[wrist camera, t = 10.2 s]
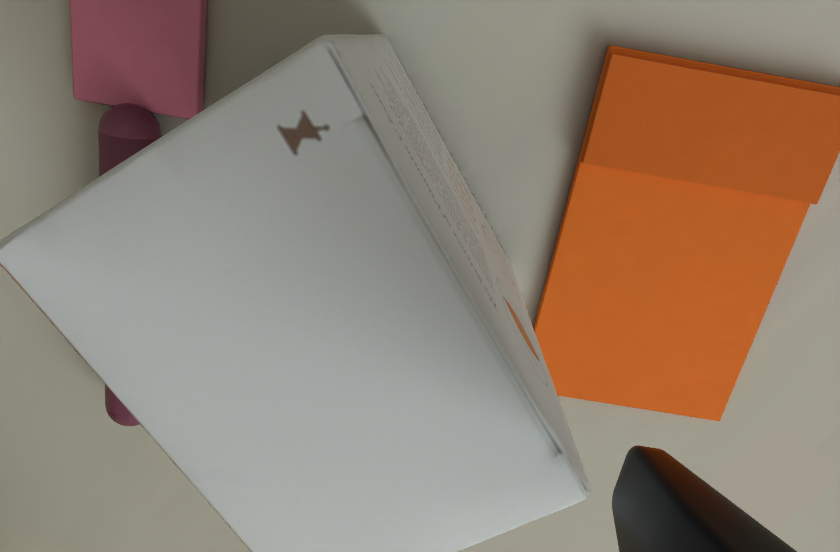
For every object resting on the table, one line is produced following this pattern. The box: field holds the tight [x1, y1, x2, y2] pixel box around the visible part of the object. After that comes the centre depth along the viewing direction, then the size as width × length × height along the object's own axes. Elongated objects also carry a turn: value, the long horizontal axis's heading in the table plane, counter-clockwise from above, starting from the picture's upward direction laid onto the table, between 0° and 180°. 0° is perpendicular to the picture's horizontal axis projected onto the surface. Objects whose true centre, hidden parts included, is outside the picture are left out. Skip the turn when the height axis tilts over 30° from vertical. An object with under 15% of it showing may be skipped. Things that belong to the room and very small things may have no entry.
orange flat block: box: [533, 45, 840, 421], centre depth 19 cm, size 7×11×1 cm, turn 170°
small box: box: [0, 34, 590, 552], centre depth 14 cm, size 8×6×10 cm
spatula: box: [70, 0, 207, 426], centre depth 18 cm, size 17×4×2 cm, turn 170°
